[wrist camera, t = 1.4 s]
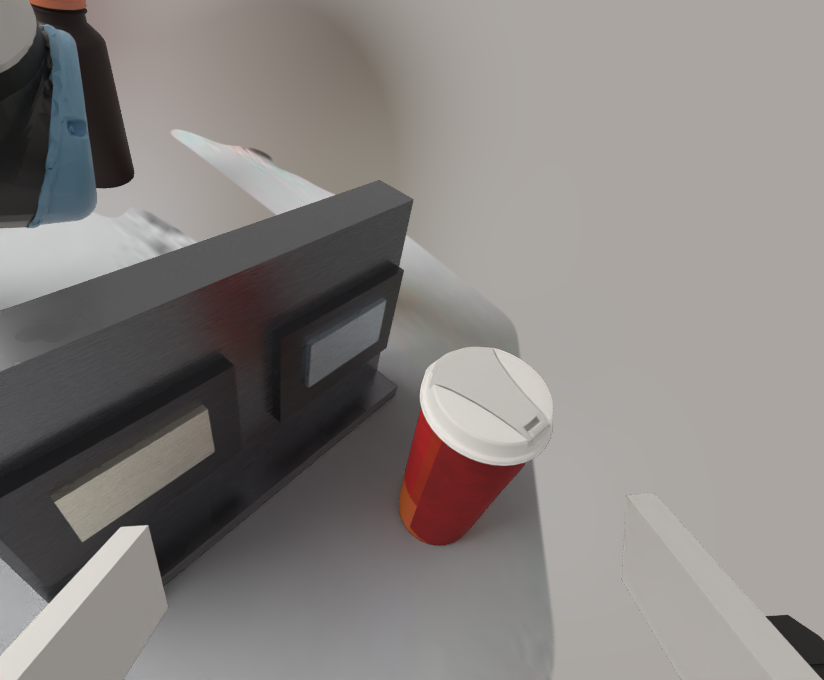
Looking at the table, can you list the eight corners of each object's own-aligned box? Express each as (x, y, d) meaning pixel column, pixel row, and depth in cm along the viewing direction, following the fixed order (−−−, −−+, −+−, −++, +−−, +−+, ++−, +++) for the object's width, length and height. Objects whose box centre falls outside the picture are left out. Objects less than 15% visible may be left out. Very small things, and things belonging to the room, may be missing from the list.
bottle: (141, 167, 60) (101, -23, 47) (126, 192, 56) (77, -11, 42) (81, 160, 59) (22, -39, 45) (61, 186, 54) (-12, -28, 40)
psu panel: (15, 546, 28) (-195, 327, 15) (332, 345, 44) (352, 164, 32) (85, 650, 25) (-104, 484, 13) (395, 394, 42) (443, 216, 29)
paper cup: (504, 517, 35) (588, 404, 26) (435, 586, 31) (505, 480, 21) (433, 444, 39) (484, 321, 29) (361, 497, 34) (393, 372, 25)
